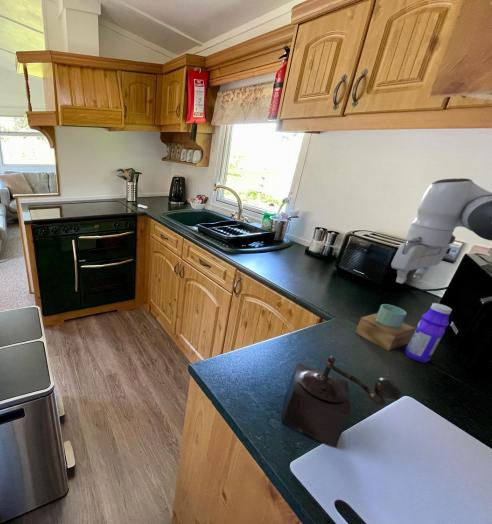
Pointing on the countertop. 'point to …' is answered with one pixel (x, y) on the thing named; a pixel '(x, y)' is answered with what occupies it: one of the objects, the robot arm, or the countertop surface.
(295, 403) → the manual coffee grinder
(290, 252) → the countertop surface
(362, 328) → the block
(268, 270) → the countertop surface
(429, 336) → the bottle
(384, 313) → the bowl
